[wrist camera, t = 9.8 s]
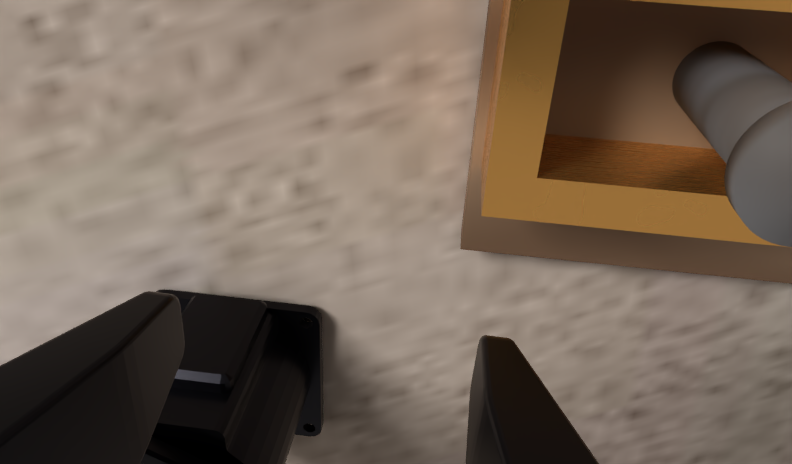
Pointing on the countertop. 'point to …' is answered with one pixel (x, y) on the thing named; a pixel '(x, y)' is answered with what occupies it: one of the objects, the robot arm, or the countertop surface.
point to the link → (591, 148)
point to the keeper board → (662, 127)
